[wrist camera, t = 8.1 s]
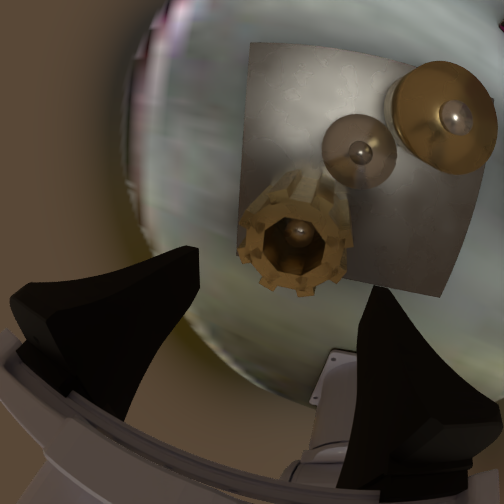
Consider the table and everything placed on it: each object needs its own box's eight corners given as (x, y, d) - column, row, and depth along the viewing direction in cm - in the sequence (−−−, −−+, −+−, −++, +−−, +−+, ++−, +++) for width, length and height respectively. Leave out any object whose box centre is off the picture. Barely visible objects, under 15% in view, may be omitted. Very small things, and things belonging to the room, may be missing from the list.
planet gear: (339, 260, 19) (336, 305, 14) (259, 244, 20) (235, 282, 16) (356, 179, 16) (363, 204, 12) (266, 163, 17) (240, 181, 13)
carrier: (436, 290, 18) (456, 344, 13) (240, 249, 22) (208, 295, 16) (487, 99, 11) (537, 100, 6) (254, 45, 14) (217, 19, 9)
